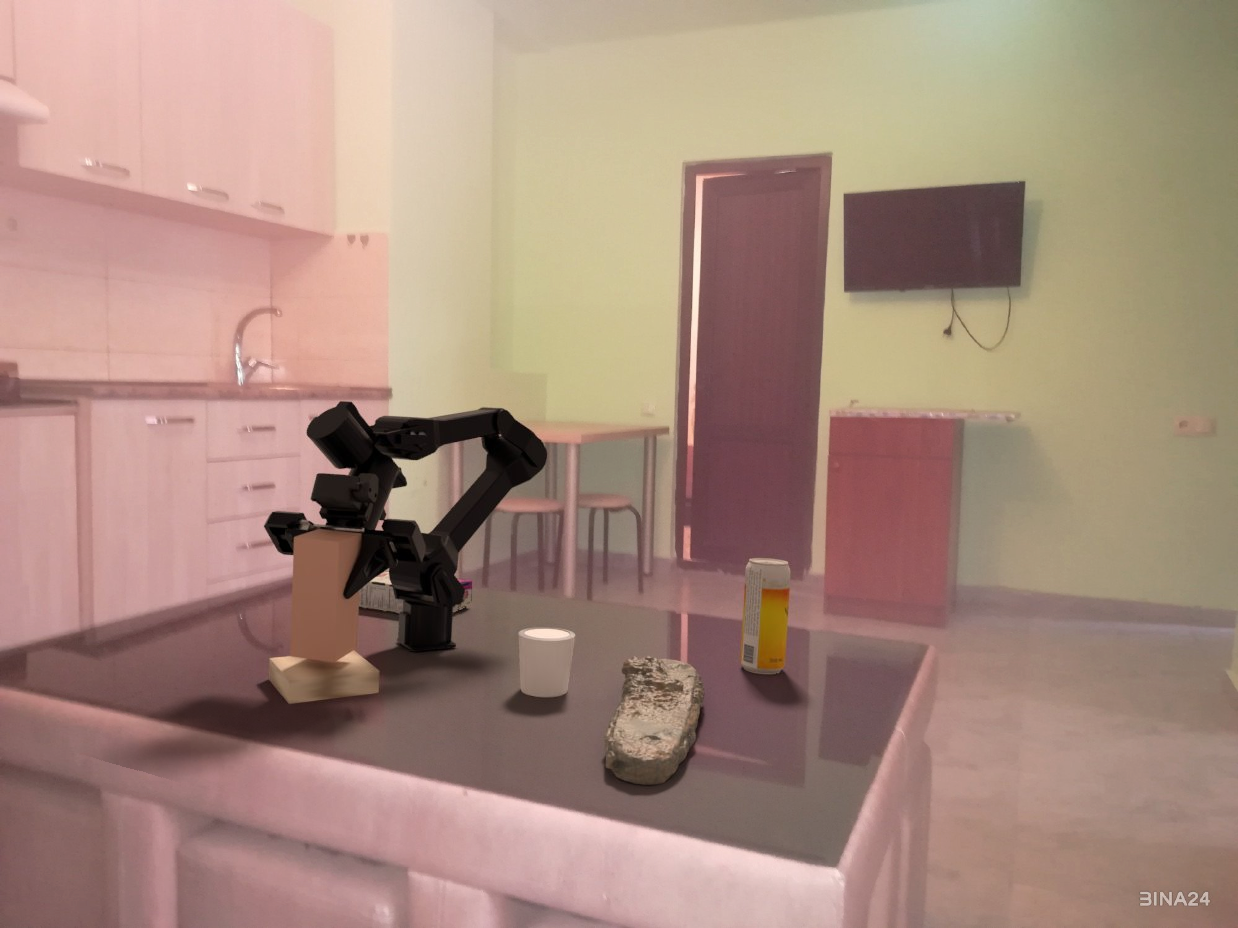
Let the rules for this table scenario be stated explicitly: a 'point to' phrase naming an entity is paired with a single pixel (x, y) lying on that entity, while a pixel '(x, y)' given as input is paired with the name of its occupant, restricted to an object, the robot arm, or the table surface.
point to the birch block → (322, 678)
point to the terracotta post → (324, 595)
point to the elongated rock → (653, 720)
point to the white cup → (545, 660)
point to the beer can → (765, 615)
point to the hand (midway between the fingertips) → (321, 594)
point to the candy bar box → (383, 598)
